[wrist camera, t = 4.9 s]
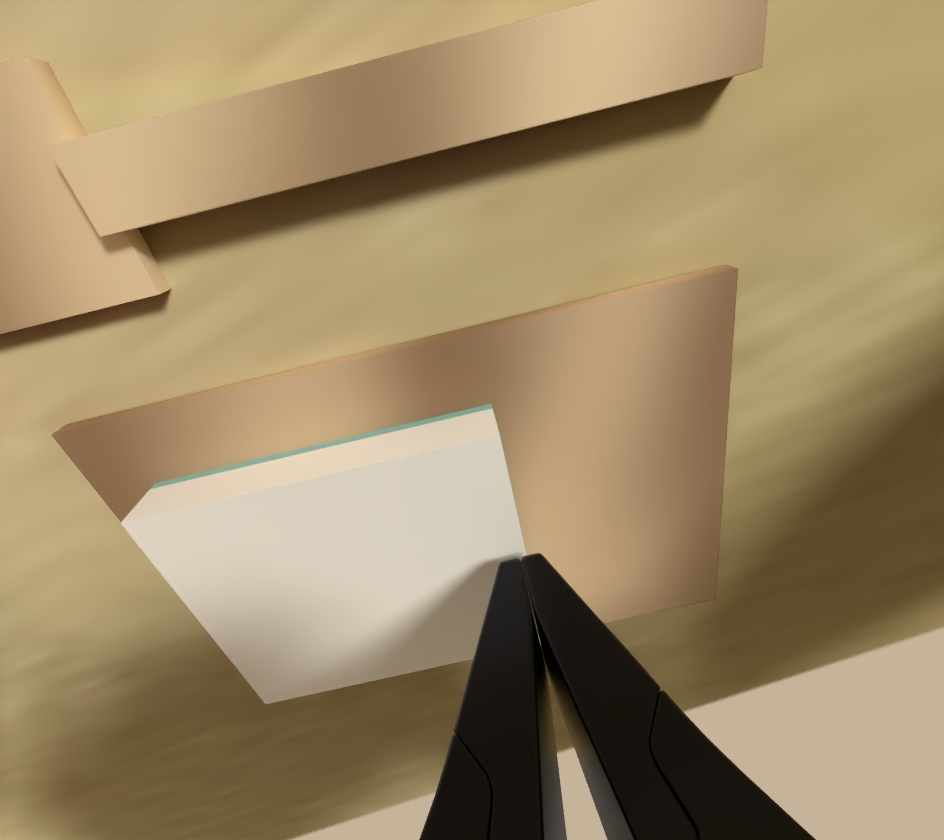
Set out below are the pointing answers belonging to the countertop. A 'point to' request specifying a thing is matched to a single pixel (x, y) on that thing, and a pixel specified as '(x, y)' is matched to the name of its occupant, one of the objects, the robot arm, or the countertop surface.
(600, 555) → the brown wooden board
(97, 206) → the wooden turner
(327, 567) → the tile
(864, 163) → the countertop surface
